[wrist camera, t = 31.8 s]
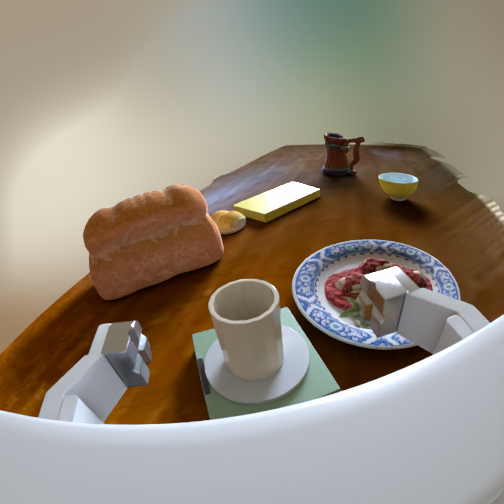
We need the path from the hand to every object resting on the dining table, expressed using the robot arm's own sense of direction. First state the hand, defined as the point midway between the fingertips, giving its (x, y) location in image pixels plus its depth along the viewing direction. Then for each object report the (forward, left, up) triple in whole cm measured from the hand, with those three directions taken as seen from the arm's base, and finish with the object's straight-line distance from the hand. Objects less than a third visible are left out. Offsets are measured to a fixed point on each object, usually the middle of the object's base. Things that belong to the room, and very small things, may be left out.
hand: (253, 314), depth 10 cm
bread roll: (+54, -7, -20) cm, 58 cm away
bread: (+42, +9, -20) cm, 48 cm away
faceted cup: (+12, -1, -17) cm, 21 cm away
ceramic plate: (+18, -22, -20) cm, 35 cm away
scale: (+12, -2, -20) cm, 23 cm away
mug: (+79, -56, -20) cm, 99 cm away
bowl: (+48, -54, -20) cm, 75 cm away
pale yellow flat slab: (+62, -24, -20) cm, 70 cm away
